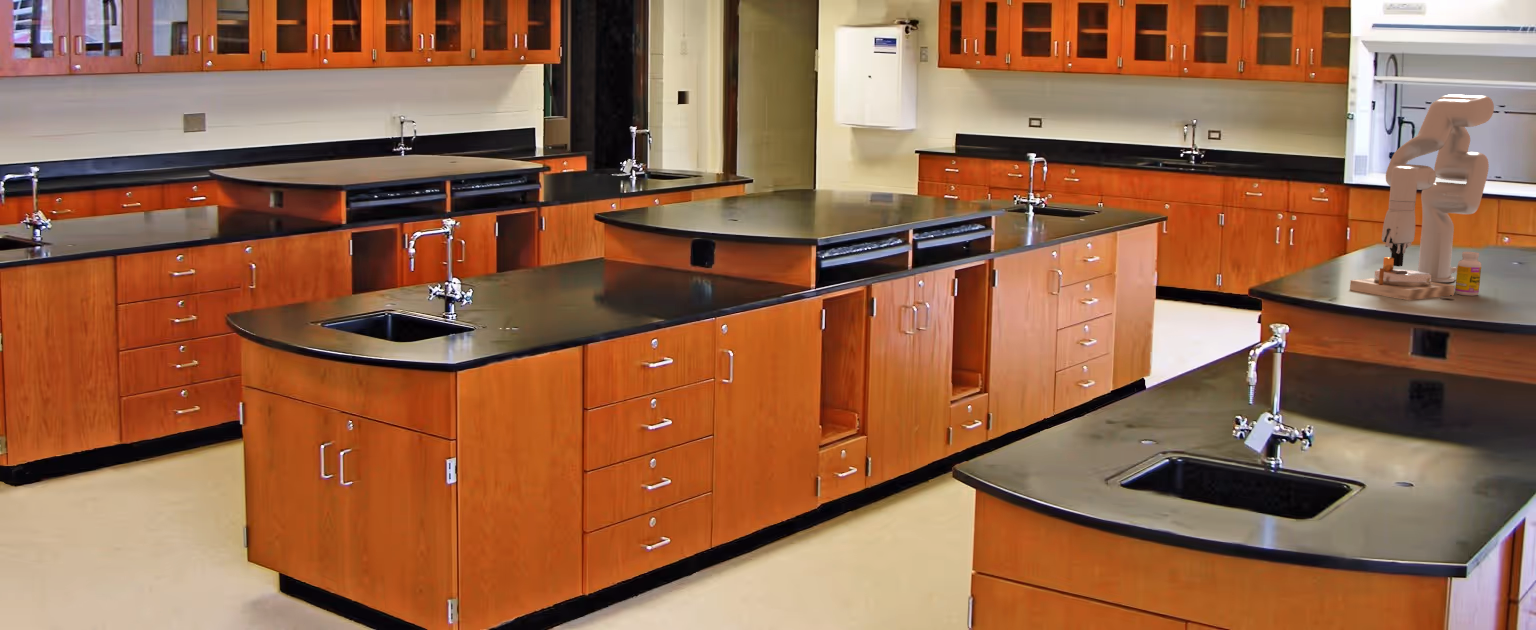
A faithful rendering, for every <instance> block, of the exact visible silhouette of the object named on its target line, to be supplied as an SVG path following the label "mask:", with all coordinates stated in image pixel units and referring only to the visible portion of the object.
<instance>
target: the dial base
mask: <svg viewBox="0 0 1536 630" xmlns="http://www.w3.org/2000/svg"><path fill="white" fill-rule="evenodd" d="M1379 270H1380V273H1379V283H1377V282H1375V281H1374V277H1371V278H1361V279H1360V278H1359V279H1352V280H1350V282H1349V284H1350V285H1349V286H1350V287H1349V291H1354V292H1359V293H1365V294H1372V295H1377V296H1383V297H1389V298H1395V299H1400V300H1404V301H1405V300H1406V301H1410V300H1411V301H1412V300H1421V299H1431V298H1441V296H1442V297H1449V296H1450V295H1452V296H1454V295H1455V294H1454V293H1455V285H1453V284H1447V283H1443V282H1431V285H1429V286H1422V287H1408V286H1394V285H1386V284H1383V276H1384V268H1383V267H1380V268H1379ZM1450 297H1451V296H1450Z"/></svg>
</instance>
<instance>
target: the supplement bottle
mask: <svg viewBox="0 0 1536 630" xmlns="http://www.w3.org/2000/svg"><path fill="white" fill-rule="evenodd" d="M1461 257H1462V259H1460V260H1459V261H1458V263H1457V273H1456V279H1455V285H1454V293H1455V294H1456V295H1459V296H1460V295H1461V296H1468V297H1469V296H1470V297H1472V296H1473V297H1474V296H1479V293H1480V284H1481V273H1482V262H1480V261H1479V257H1480V253H1479V252H1474V251H1463V252H1462V254H1461Z"/></svg>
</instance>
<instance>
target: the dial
mask: <svg viewBox="0 0 1536 630" xmlns="http://www.w3.org/2000/svg"><path fill="white" fill-rule="evenodd" d="M1394 267H1395V266H1394V258H1391V256H1390V257H1388V256H1386V257H1385V256H1384V257H1383V264H1382V268H1384V276H1383V284H1386V285H1394V286H1408V287H1422V286H1429V285H1431V274H1429V273H1425V272H1420V271H1418V270H1413V269H1411V270H1409V269H1394ZM1379 273H1380V269H1376V270H1375V271H1374V277H1373V278H1374V281H1375V282H1377V283H1379Z"/></svg>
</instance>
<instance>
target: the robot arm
mask: <svg viewBox="0 0 1536 630" xmlns="http://www.w3.org/2000/svg"><path fill="white" fill-rule="evenodd" d="M1494 110H1495V105H1494V102H1493V100H1492V99H1491V98H1490V97H1489V96H1487V95H1471V94H1470V95H1469V94H1468V95H1467V94H1466V95H1465V94H1447V95H1442V96H1440V97H1439V98H1438V99H1437V100H1435V101H1433V102H1432V103H1431V104H1430V106H1429V108H1428V110H1427V112H1426V114H1425V117H1424V119H1423V121H1422V124H1421V126H1420V128H1419V131H1418V134H1417V135H1416V136H1415V137H1413V138H1411V139H1410V140H1407V141H1406V142H1405V143H1403V144H1402V145H1401V146H1400V147H1399V148H1398V149H1396V151H1395V152H1394V153H1393V154H1392V157H1391V158H1390V161H1389V164H1388V166H1387V168H1386V172H1385V182H1386V184H1387V185H1388V186H1389V187H1390V188H1389V189H1390V190H1389V200H1388V209H1387V210H1386V213H1385V217H1384V221H1383V225H1382V232H1381V241H1382V242H1383V243H1385V244H1384V246H1385V248H1388V249H1389V250H1390V251H1389V252H1390V255H1391V256H1390V257H1391V258H1394V267H1403V264H1404V254H1405V253H1406V250H1407V248H1410V247H1411V246H1412V242H1414V240H1415V236H1416V235H1415V234H1416V211H1415V210H1416V199H1417V190H1420V191H1421V195H1420V197H1421V198H1420V200H1421V210H1422V211H1421V212H1422V221H1421V232H1420V244H1419V246H1420V247H1419V255H1418V267H1417V271H1420V272H1425V273H1429V274H1431V282H1436V283H1453V282H1455V280H1456V279H1455V277H1454V276H1453V275H1452V274H1457V267H1456V266H1454V267H1452V265H1451V264H1452V253H1453V243H1454V242H1453V241H1454V233H1455V231H1454V230H1455V226H1454V225H1455V224H1454V223H1453V220H1452V217H1450V215H1449V214H1458V215H1472V214H1475V213H1476V212H1477V211H1478V209H1479V208H1480V205H1481V201H1482V197H1483V194H1484V189H1485V186H1486V182H1487V179H1488V178H1487V177H1488V174H1489V169H1490V168H1489V167H1490V166H1489V159H1488V157H1487V156H1486V155H1485V154H1484V153H1481V152H1479V151H1478V152H1477V151H1469V148H1470V143H1471V135H1470V133H1469V131H1468V130H1467V129H1466V128H1472V127H1477V126H1480V125H1483V124H1487V123H1488V122H1489V121H1490V119H1492V118H1493V117H1492V116H1493V115H1494ZM1437 151H1438V152H1437ZM1434 152H1437V155H1436V160H1435V164H1434V167H1433V168H1432V167H1431V166H1428V165H1423V164H1422V165H1420V164H1410V163H1409V162H1411V161H1412V160H1414V159H1416V158H1418V157H1419V158H1420V157H1421V156H1425V155H1428V154H1431V153H1434ZM1408 163H1409V164H1408ZM1436 179H1441V180H1444V181H1436ZM1445 181H1453V182H1445ZM1456 182H1466V183H1456Z"/></svg>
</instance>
